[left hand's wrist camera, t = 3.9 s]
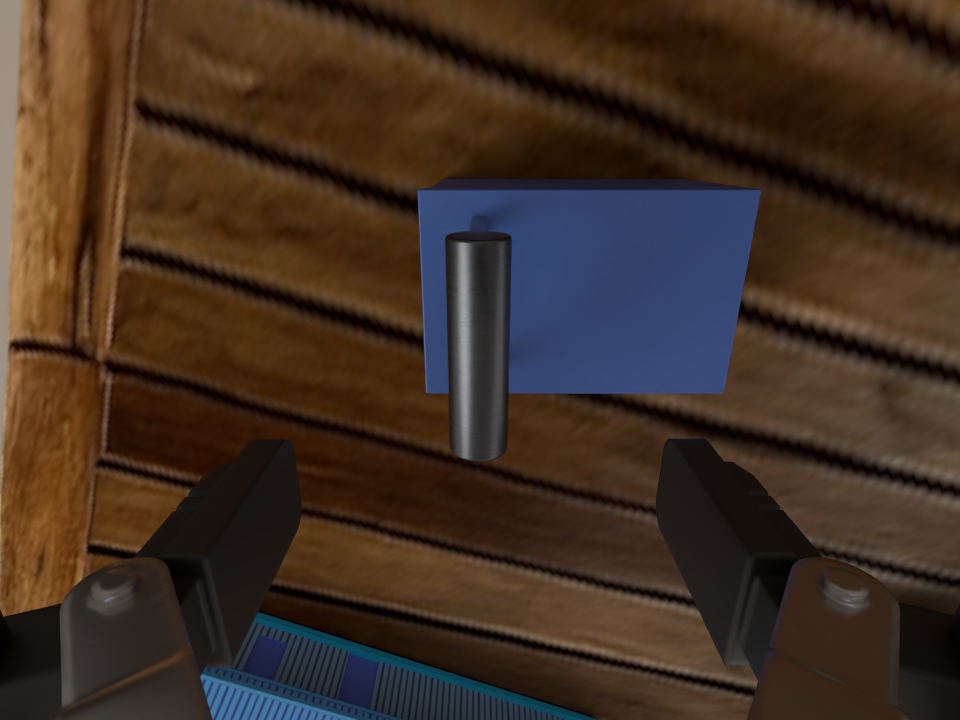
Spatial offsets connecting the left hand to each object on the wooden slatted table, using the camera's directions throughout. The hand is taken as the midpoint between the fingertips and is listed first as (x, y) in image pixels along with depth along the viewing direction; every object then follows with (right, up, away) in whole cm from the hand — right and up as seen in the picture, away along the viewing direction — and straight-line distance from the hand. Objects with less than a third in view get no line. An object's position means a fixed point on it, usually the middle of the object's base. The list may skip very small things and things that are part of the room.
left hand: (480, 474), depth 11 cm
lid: (+5, +6, +14) cm, 16 cm away
